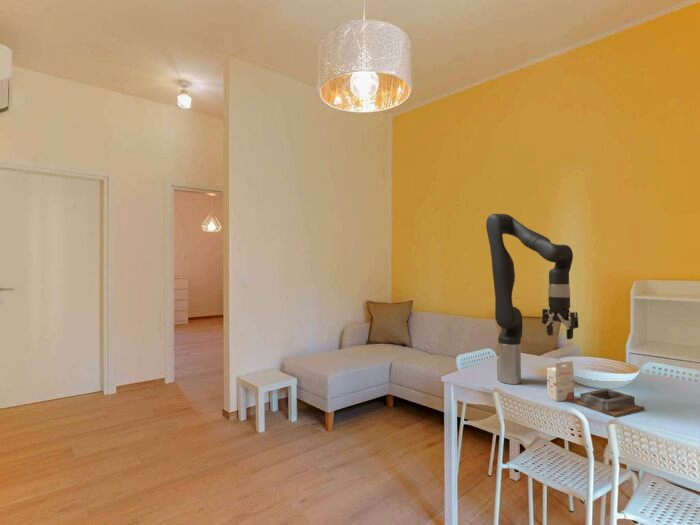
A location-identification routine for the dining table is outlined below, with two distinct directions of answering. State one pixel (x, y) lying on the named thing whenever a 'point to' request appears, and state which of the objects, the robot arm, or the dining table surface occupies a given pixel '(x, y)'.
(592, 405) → the socket plate
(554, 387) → the ink cartridge box
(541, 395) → the dining table surface
